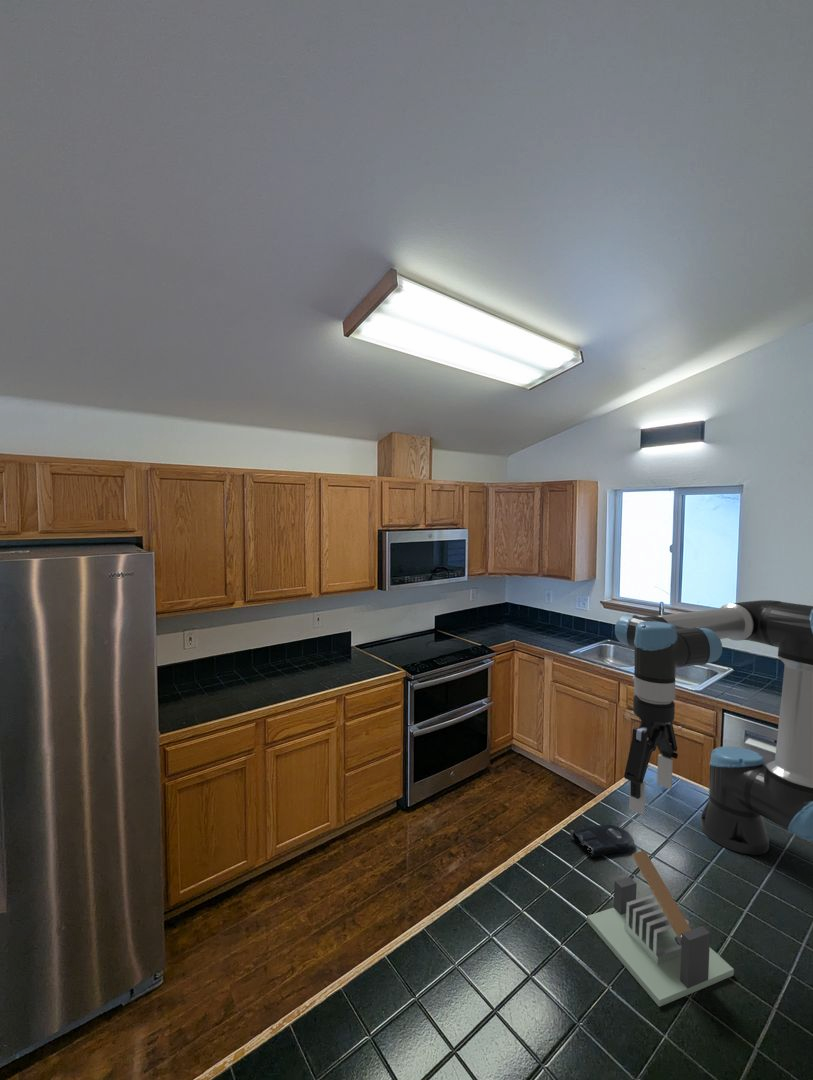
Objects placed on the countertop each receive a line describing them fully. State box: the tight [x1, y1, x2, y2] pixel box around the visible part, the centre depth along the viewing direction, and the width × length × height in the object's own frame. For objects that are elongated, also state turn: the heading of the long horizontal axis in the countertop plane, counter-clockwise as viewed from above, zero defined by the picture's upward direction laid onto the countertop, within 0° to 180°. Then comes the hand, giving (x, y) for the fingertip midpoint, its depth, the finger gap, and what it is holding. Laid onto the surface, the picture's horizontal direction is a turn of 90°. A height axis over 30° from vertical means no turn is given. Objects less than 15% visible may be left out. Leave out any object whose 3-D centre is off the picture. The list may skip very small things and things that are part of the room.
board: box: [586, 876, 735, 1008], centre depth 91 cm, size 18×18×10 cm
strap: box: [631, 850, 692, 945], centre depth 90 cm, size 4×15×1 cm
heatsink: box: [624, 893, 690, 965], centre depth 91 cm, size 8×8×6 cm
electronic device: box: [569, 823, 635, 858], centre depth 120 cm, size 9×6×15 cm
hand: (651, 798), depth 96 cm, fingers open, 13 cm apart
